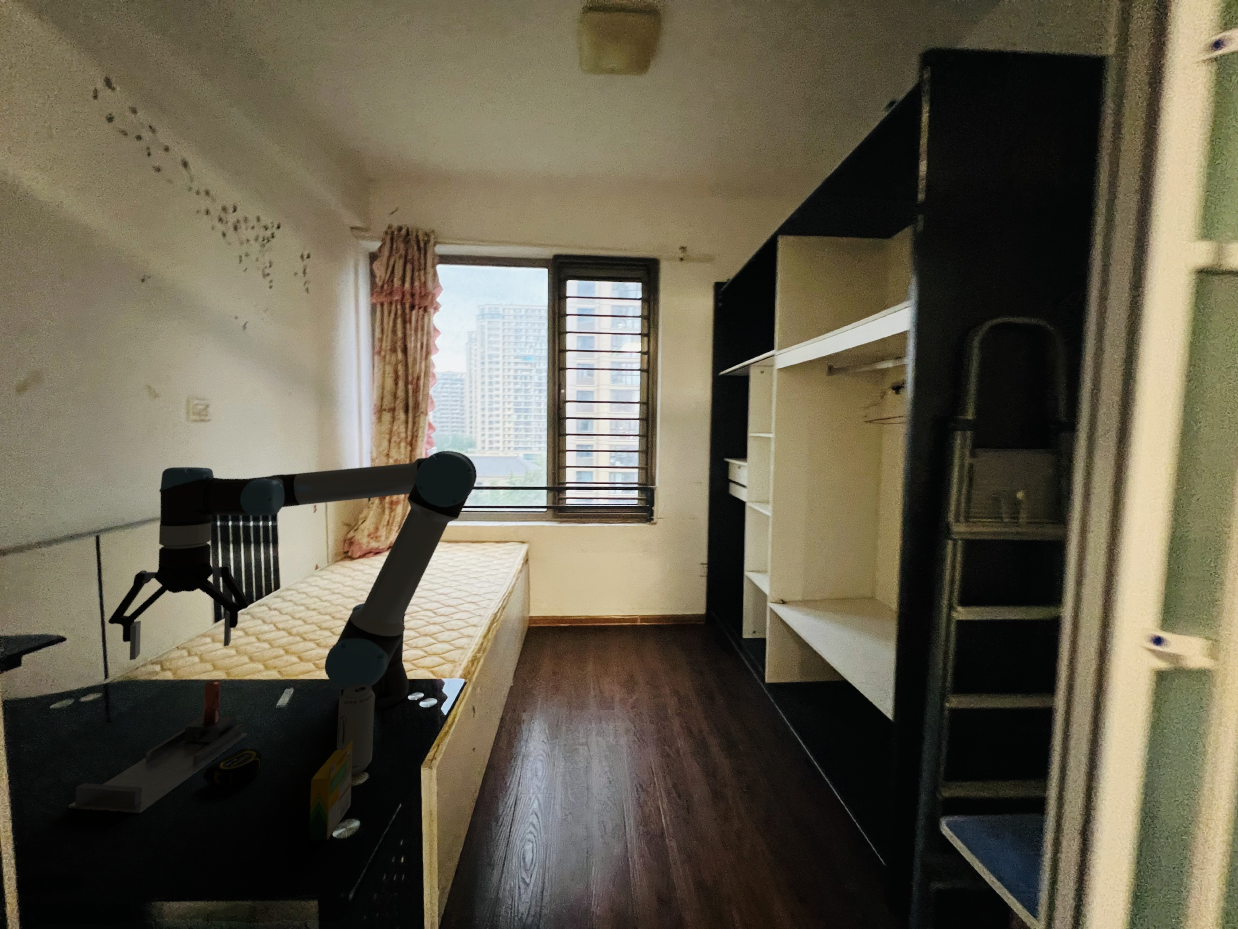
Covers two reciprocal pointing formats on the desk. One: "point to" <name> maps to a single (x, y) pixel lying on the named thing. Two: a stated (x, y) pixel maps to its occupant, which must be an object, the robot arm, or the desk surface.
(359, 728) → the energy drink can
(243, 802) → the desk surface
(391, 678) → the robot arm
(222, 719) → the ram
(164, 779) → the press bed
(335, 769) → the crayon box
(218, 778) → the tape measure
